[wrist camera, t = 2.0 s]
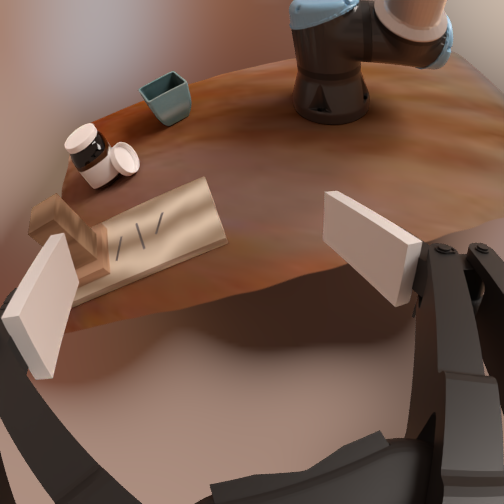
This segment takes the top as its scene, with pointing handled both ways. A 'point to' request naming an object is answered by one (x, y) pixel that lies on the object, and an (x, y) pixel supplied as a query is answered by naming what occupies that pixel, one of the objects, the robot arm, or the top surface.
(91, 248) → the block
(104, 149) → the spread jar
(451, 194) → the top surface
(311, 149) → the top surface
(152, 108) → the flower pot
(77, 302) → the plywood board
